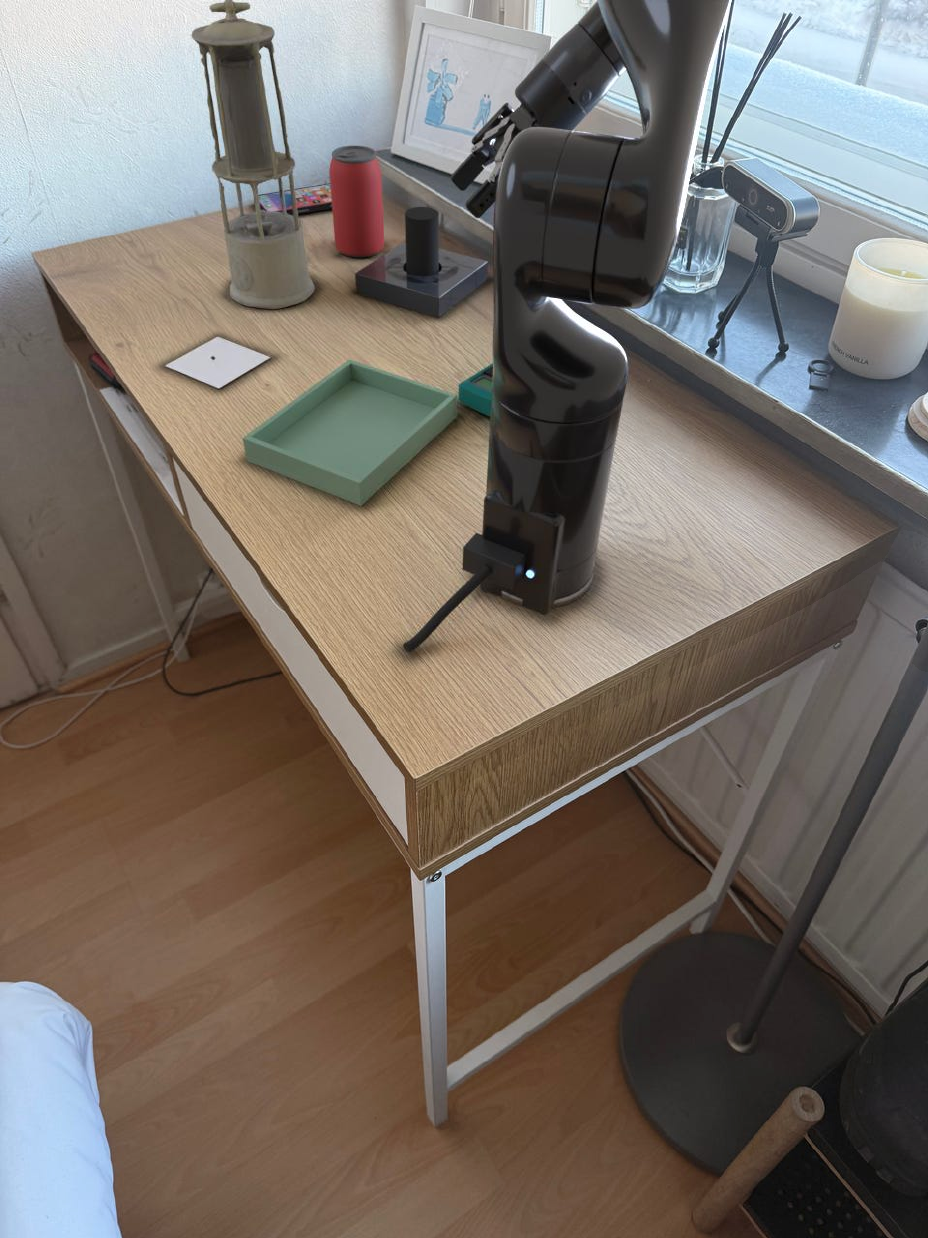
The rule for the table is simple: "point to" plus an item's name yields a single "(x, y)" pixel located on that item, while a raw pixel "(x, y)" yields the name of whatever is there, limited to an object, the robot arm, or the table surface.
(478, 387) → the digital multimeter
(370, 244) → the beer can
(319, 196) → the smartphone
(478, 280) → the drain plate
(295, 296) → the lamp
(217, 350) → the coaster
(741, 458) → the table surface
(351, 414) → the basin tray
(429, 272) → the black cylinder
